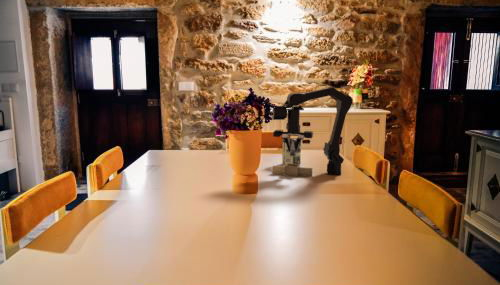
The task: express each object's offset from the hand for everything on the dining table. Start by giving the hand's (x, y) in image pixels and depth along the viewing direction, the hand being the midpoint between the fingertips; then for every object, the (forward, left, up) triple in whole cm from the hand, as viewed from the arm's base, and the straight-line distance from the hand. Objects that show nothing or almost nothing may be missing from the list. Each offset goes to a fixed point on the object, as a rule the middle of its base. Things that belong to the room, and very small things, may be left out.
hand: (292, 151), depth 180 cm
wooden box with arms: (0, 0, -12) cm, 12 cm away
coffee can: (+4, -21, -12) cm, 24 cm away
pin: (0, 0, -2) cm, 2 cm away
